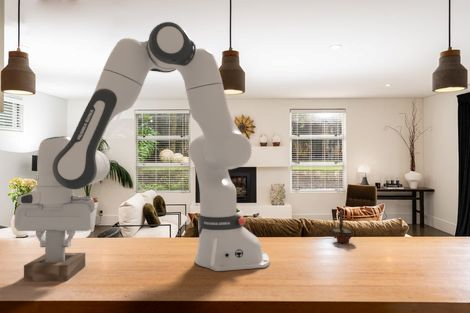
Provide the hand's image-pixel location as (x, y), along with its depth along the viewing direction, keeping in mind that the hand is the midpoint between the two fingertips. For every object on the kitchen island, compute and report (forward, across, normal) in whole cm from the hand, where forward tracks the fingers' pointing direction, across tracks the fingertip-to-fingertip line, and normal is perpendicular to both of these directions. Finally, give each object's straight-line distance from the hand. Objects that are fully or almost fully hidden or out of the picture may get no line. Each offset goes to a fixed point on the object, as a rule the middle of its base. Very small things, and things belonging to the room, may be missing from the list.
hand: (55, 246), depth 91 cm
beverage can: (+7, 0, 0) cm, 7 cm away
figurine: (+7, -89, -29) cm, 94 cm away
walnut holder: (+7, 0, 0) cm, 7 cm away
